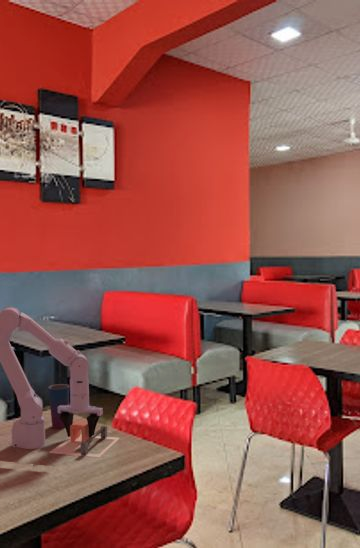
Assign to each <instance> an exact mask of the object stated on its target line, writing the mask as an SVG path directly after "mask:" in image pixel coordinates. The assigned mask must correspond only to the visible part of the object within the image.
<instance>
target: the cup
mask: <svg viewBox="0 0 360 548" xmlns="http://www.w3.org/2000/svg"><path fill="white" fill-rule="evenodd" d="M48 397H49V398H48V399H49V408H50V417H51V419H50V420H51V427H52V429H56V430H62V429H65V426H64V424H63V422H62V420H61V419H60V415H61V414H62V413H58V408H57V407H58V406H60V405H70V384H66V383H58V384H52V385H48Z"/></svg>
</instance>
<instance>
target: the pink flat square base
mask: <svg viewBox="0 0 360 548" xmlns="http://www.w3.org/2000/svg"><path fill="white" fill-rule="evenodd" d="M94 439H100V440H111V441H112V442H110V443H109V444H108V445H107V446H106V447H105V448H104V449H103V450H102V451H101V452H100V453H98V454H97V453H89V445H88V444H89V443H91V442H92V441H93V440H94ZM120 439H121V437H118V436H117V437H116V436H113V437H112V436H108V426H107V425H102V426H101V427H100V429H98V430H97V431H95V432H94V435H92V436H91V437H90V438H89V439H87V440H86V441H85V442H82V434H80V437H79V438H77V439H76V440H75V441H73V442H71V441H70V437H68V438H66V439H65V440H64V441H62V442H61V443H59V445H57V446H55V448H53V449H51V450H50V451H49V452H48V454H56V455H58V454H60V455H68V456H77V457H78V456H80V457H89V458H90V457H91V458H100V457H102V455H104V454H105V453H106V452H107V451H108V450H109V449H110V448H111V447H112V446H113V445H114V444H115V443H116V442H117V441H119V440H120ZM79 448H80V452H76V451H77V450H78V449H79Z"/></svg>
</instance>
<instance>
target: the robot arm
mask: <svg viewBox="0 0 360 548" xmlns="http://www.w3.org/2000/svg"><path fill="white" fill-rule="evenodd" d="M17 328H18V329H17ZM16 329H17V331H18V332H27V333H29V334H30V335H31V336H33V337H34V338H35V339H37V340H38V341H40V342H41V343H42V344H44V345H45V346H46V347H48V353H49V354H50V355H51V356H52V357H53V358H55V359H56V360H57V361H59V362H60V363H61V364H62V365H63V366H65V367H68V369H69V373H70V379H69V405H60V406H58V407H57V408H58V413H62V414H61V415H60V419H61V420H62V422H63V424H64V426H65V428H64V429H65V430H66V434H67V437H68V438H69V437H70V425H72V424H73V423H74V414H79V415H88V416H87V417H86V421H87V422H88V428H89V438H90V437H91V436H92V435H94V434H95V433H96V427H97V424H98V421H99V420H100V417H101V416H102V415H103V414H104V409H103V407H98V406H94V405H93V406H92V405H90V387H89V386H90V384H89V383H90V382H89V380H90V379H89V370H90V365H89V362H88V359H87V357H86V356H85V355H84V353H82V352H81V351H80V350H79V349H77V350H76V349H75V348H74V347H73V346H71V344H69V340H67V339H63V338H60V337H59V338H55V337H54V336H52V335H51V334H50V333H49V332H48V331H47V330H46V329H45V328H43V327H42V326H41V325H40V324H39V323H38V322H36V321H35V320H34V319H33V318H32V317H30V316H29V315H27V314H26V313H24V312H23V311H21V312H20V310H19V309H18V308H17V307H15V306H7V307H6V306H5V307H4V308H2V310H1V312H0V364H1V367H2V369H3V371H4V372H5V375H6V377H7V379H8V381H9V383H10V385H11V387H12V389H13V392H14V393H15V395H16V398H17V402H18V406H19V408H20V416H21V417H20V419H16V420H15V421H14V422H13V424H12V426H11V447H12V448H20V449H26V450H34V449H39V448H42V447H43V446H45V445H46V422H45V420H46V419H45V416H44V415H43V414H44V413H43V408H44V407H43V406H44V402H43V399H42V398H41V397H40V396H39V395H37V394H36V392H35V390H34V389H33V387H32V386H31V384H30V382H29V380H28V377H27V375H26V374H25V372H24V369H23V367H22V365H21V364H20V361H19V359H18V357H17V355H16V353H15V351H14V348H13V347H12V344H11V343H10V339H11V336H12V334H13V332H15V330H16Z"/></svg>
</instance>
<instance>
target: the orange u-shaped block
mask: <svg viewBox="0 0 360 548" xmlns="http://www.w3.org/2000/svg"><path fill="white" fill-rule="evenodd" d="M80 435H82V442H85V441H86V440H87V439H89V428H88V422H87V420H76V421H75V422H73V424H72V425H70V441H71V442H73V441H75V440H76V439H77V438H79V437H80Z"/></svg>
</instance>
